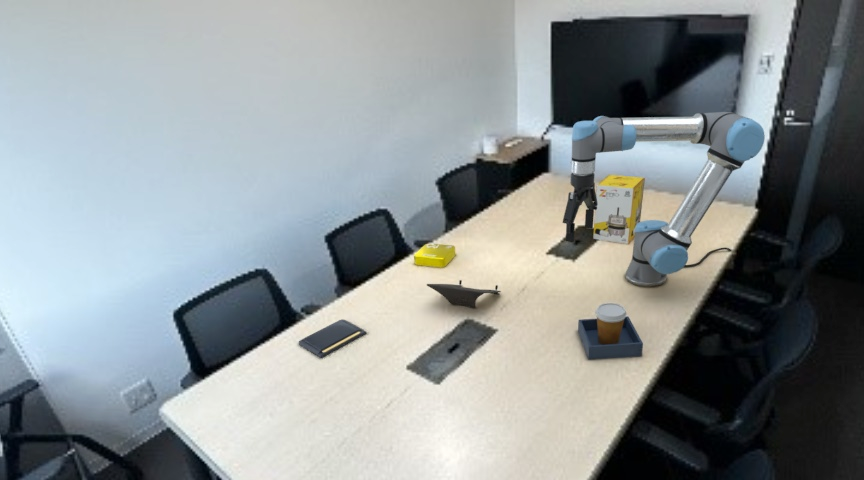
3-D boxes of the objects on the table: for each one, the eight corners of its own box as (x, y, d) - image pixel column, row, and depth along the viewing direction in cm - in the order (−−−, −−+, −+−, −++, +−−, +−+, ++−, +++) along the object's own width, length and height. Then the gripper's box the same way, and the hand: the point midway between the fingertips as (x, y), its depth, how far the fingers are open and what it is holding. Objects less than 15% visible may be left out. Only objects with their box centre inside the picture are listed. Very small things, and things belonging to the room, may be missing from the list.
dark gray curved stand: (503, 309, 211) (506, 286, 209) (481, 312, 190) (484, 286, 188) (450, 301, 219) (452, 279, 218) (424, 303, 199) (427, 278, 197)
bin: (627, 328, 182) (628, 316, 179) (641, 356, 168) (643, 343, 165) (577, 331, 183) (578, 319, 180) (588, 359, 169) (589, 347, 166)
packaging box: (639, 231, 250) (645, 177, 237) (628, 244, 239) (633, 188, 226) (605, 226, 258) (609, 174, 245) (593, 238, 247) (596, 185, 234)
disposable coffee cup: (624, 335, 177) (628, 303, 171) (622, 351, 170) (625, 318, 163) (595, 332, 180) (597, 300, 174) (591, 347, 173) (593, 315, 166)
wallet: (342, 316, 200) (366, 329, 191) (343, 320, 201) (367, 334, 192) (295, 338, 189) (318, 354, 180) (297, 343, 190) (319, 358, 181)
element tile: (413, 265, 238) (412, 255, 236) (427, 251, 250) (426, 241, 247) (444, 268, 233) (443, 258, 230) (457, 254, 244) (456, 244, 242)
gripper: (590, 161, 184) (586, 220, 195) (552, 181, 168) (551, 245, 179) (610, 163, 179) (605, 224, 191) (574, 185, 164) (571, 249, 175)
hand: (579, 234), depth 185 cm, fingers open, 13 cm apart
